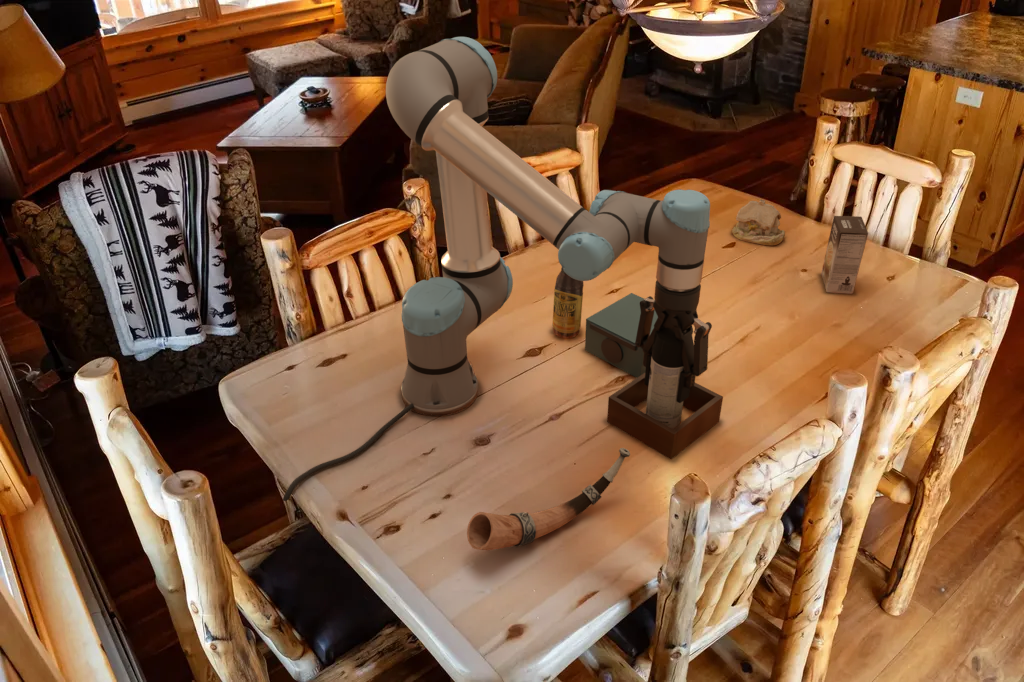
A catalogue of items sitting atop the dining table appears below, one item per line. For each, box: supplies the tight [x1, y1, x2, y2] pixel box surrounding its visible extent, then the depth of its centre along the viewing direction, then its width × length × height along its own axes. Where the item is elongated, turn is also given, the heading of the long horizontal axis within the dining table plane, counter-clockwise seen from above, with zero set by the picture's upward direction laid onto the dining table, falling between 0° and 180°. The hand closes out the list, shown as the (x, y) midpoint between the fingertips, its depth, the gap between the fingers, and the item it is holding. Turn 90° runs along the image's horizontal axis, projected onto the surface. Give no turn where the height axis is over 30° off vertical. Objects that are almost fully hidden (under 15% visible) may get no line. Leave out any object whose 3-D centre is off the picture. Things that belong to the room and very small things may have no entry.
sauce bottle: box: [551, 267, 584, 339], centre depth 173 cm, size 6×6×20 cm
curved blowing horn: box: [466, 447, 631, 551], centre depth 128 cm, size 6×30×10 cm, turn 121°
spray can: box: [645, 328, 684, 429], centre depth 147 cm, size 7×7×20 cm
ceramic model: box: [731, 199, 786, 246], centre depth 214 cm, size 14×11×10 cm
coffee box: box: [820, 215, 869, 295], centre depth 189 cm, size 9×6×16 cm
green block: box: [584, 292, 658, 379], centre depth 170 cm, size 16×15×8 cm
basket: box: [606, 373, 724, 460], centre depth 150 cm, size 15×15×6 cm
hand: (666, 390), depth 148 cm, fingers closed on spray can, 7 cm apart
